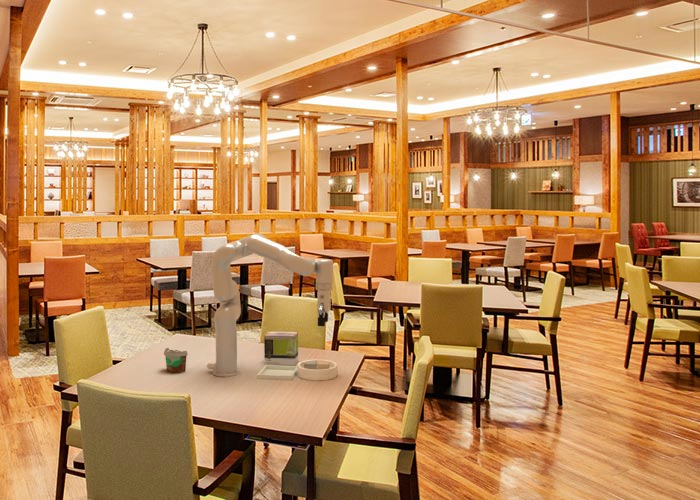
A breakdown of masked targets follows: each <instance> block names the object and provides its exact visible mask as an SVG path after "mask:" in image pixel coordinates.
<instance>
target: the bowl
mask: <svg viewBox="0 0 700 500" xmlns="http://www.w3.org/2000/svg"><path fill="white" fill-rule="evenodd" d="M306 361H317V364H318V362H319V361H326V362H330V368H329V369H321V370H314V369H306V368H304V363H305V362H306ZM296 366H297V374H296V376H297V377H298V378H300V379H302V380H306V381H307V380H308V381H326V380H328V381H330V380H333V379H335V378H337V376H338V363H337V362H335V361H333V360H328V359H318V358H317V359H307V360H303V361H298V362H297V363H296Z"/></svg>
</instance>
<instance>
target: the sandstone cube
mask: <svg viewBox="0 0 700 500" xmlns="http://www.w3.org/2000/svg"><path fill="white" fill-rule="evenodd" d="M329 368H330V362H326V361H319V362H318V364H317V370H321V369H329Z"/></svg>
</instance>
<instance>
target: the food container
mask: <svg viewBox="0 0 700 500" xmlns="http://www.w3.org/2000/svg"><path fill="white" fill-rule="evenodd" d="M163 355H164V356H165V357H164V358H165V367H166V372H167V373H170V374H180V373H185V372H186V368H187V367H186V366H187V357H188V351H187V350H183V351H182V350H177V349H174V350H173V349H170V348H169V347H167V348H165V349H164V351H163Z"/></svg>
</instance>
